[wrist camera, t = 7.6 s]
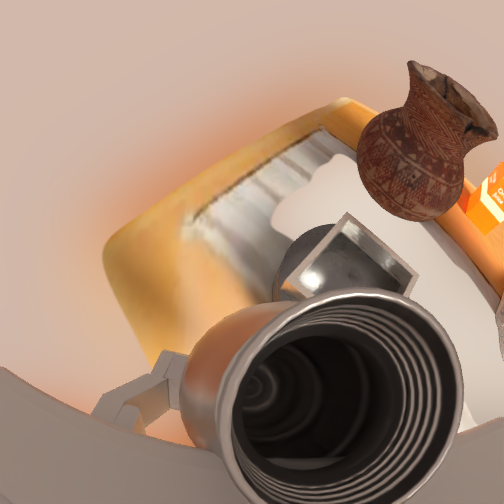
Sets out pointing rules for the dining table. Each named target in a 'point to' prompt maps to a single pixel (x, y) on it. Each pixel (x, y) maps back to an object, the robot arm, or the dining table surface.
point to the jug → (422, 146)
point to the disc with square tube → (340, 263)
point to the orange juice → (488, 202)
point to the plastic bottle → (326, 397)
